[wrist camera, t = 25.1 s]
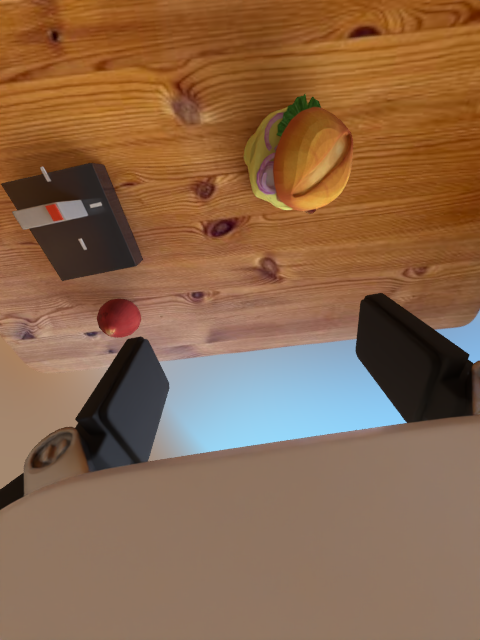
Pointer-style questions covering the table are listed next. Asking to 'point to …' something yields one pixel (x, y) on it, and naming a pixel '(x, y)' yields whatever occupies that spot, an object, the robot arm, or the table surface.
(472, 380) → the robot arm
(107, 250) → the dial base
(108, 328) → the onion
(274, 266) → the table surface
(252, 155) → the cheeseburger
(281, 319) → the table surface
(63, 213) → the knob
